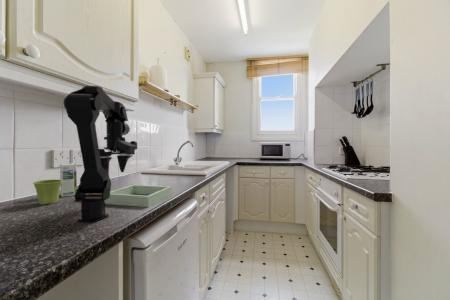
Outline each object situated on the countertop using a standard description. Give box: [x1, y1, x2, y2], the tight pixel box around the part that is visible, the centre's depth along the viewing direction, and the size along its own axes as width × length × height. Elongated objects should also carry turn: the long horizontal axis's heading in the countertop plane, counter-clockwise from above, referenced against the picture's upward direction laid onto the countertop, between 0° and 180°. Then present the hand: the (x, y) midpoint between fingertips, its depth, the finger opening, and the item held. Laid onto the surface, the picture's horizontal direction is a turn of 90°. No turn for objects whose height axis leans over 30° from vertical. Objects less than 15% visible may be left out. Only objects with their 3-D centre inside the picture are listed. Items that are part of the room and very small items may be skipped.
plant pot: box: [32, 179, 62, 206], centre depth 92 cm, size 9×9×9 cm
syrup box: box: [59, 162, 78, 198], centre depth 106 cm, size 6×6×14 cm
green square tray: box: [105, 184, 173, 208], centre depth 99 cm, size 20×20×4 cm
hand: (114, 173), depth 92 cm, fingers open, 9 cm apart
